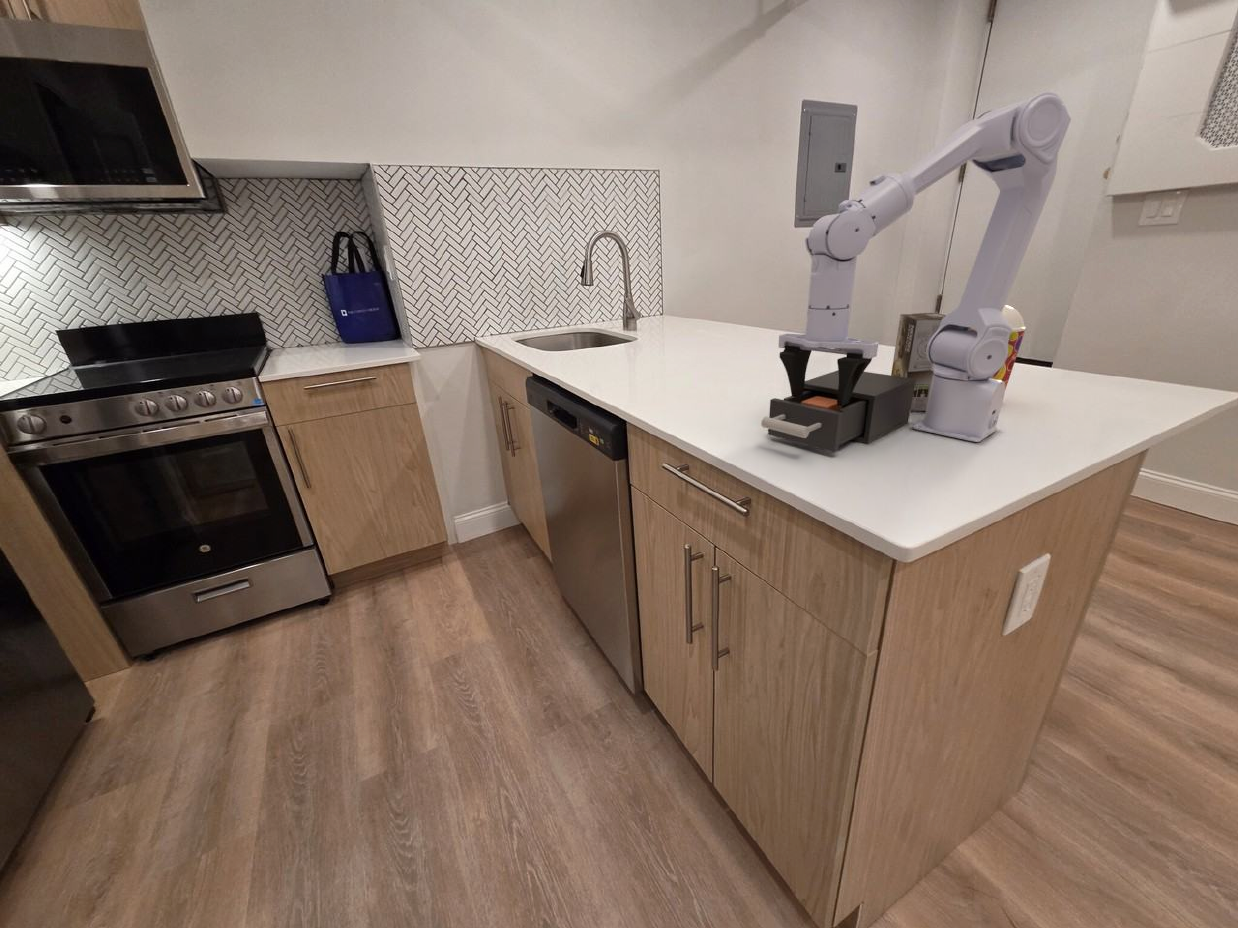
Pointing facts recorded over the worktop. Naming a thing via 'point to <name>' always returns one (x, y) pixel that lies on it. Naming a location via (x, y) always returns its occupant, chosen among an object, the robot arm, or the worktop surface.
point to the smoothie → (1010, 342)
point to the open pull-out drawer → (816, 421)
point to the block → (822, 403)
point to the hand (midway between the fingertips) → (819, 399)
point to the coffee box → (915, 353)
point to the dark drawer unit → (874, 400)
